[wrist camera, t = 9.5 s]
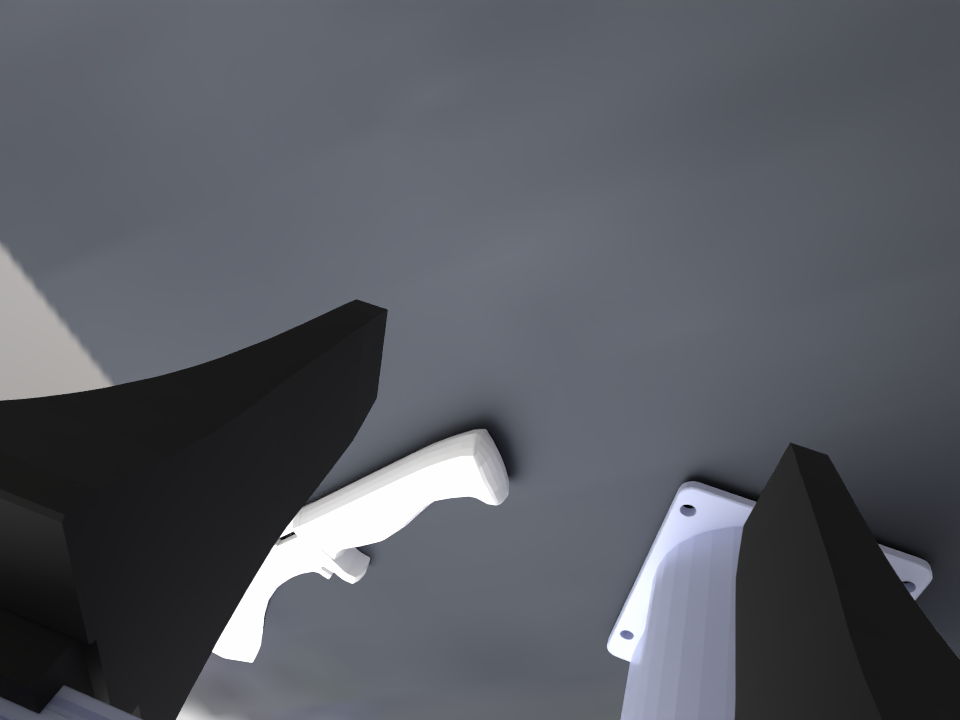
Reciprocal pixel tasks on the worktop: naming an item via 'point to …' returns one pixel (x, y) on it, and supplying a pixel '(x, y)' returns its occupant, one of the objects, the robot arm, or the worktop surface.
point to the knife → (365, 523)
